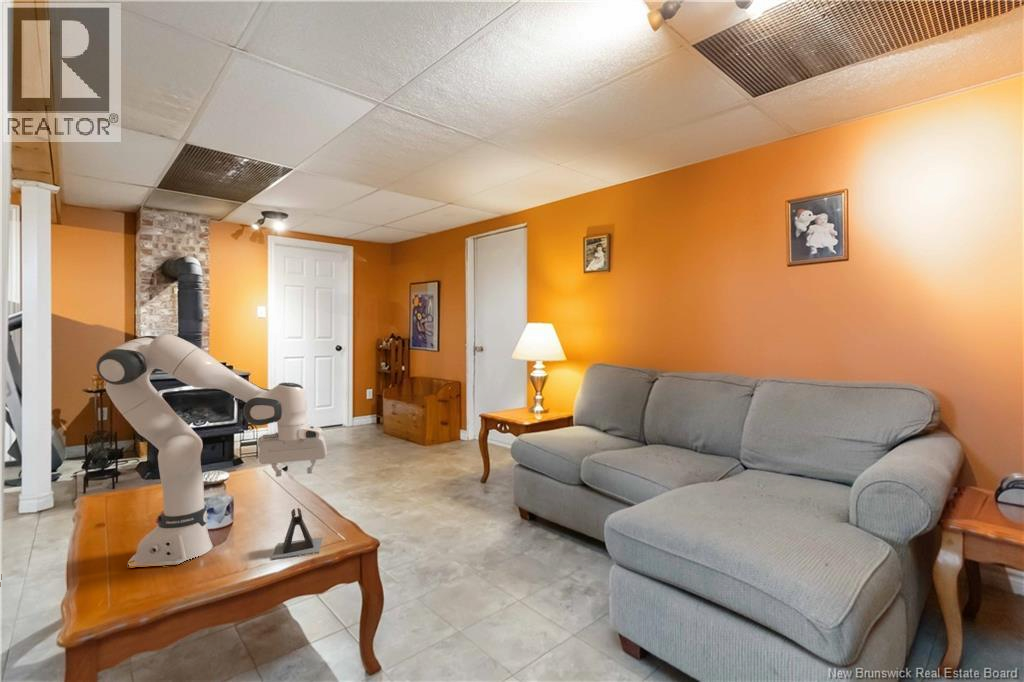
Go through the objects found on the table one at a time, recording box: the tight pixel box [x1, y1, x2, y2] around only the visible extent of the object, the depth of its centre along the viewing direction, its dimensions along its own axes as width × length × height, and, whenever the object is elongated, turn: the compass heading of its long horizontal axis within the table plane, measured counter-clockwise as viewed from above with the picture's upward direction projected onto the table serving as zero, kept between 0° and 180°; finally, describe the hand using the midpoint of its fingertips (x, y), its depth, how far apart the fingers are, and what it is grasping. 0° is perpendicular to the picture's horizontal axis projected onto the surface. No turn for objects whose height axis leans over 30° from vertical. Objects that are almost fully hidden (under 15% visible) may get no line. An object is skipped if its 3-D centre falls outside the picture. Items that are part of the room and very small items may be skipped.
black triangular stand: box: [282, 507, 314, 554], centre depth 160 cm, size 9×6×12 cm, turn 116°
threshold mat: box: [270, 536, 323, 561], centre depth 161 cm, size 14×11×1 cm
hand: (294, 474), depth 160 cm, fingers open, 8 cm apart
